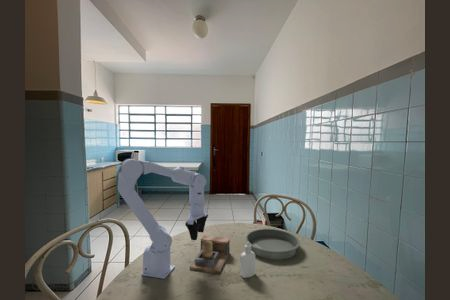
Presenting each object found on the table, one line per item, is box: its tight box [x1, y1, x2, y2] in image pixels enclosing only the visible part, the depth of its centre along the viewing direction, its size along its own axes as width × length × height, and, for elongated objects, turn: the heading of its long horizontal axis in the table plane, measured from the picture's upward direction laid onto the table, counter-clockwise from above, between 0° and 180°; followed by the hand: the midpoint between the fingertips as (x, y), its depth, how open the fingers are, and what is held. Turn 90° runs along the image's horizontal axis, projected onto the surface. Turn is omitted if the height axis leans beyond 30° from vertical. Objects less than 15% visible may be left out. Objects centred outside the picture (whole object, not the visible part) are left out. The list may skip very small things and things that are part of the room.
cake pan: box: [245, 228, 301, 260], centre depth 99 cm, size 25×25×4 cm
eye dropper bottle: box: [239, 241, 256, 279], centre depth 77 cm, size 4×6×12 cm
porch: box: [189, 235, 231, 275], centre depth 87 cm, size 12×16×6 cm
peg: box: [203, 241, 212, 260], centre depth 85 cm, size 4×4×7 cm
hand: (197, 235), depth 87 cm, fingers open, 7 cm apart
